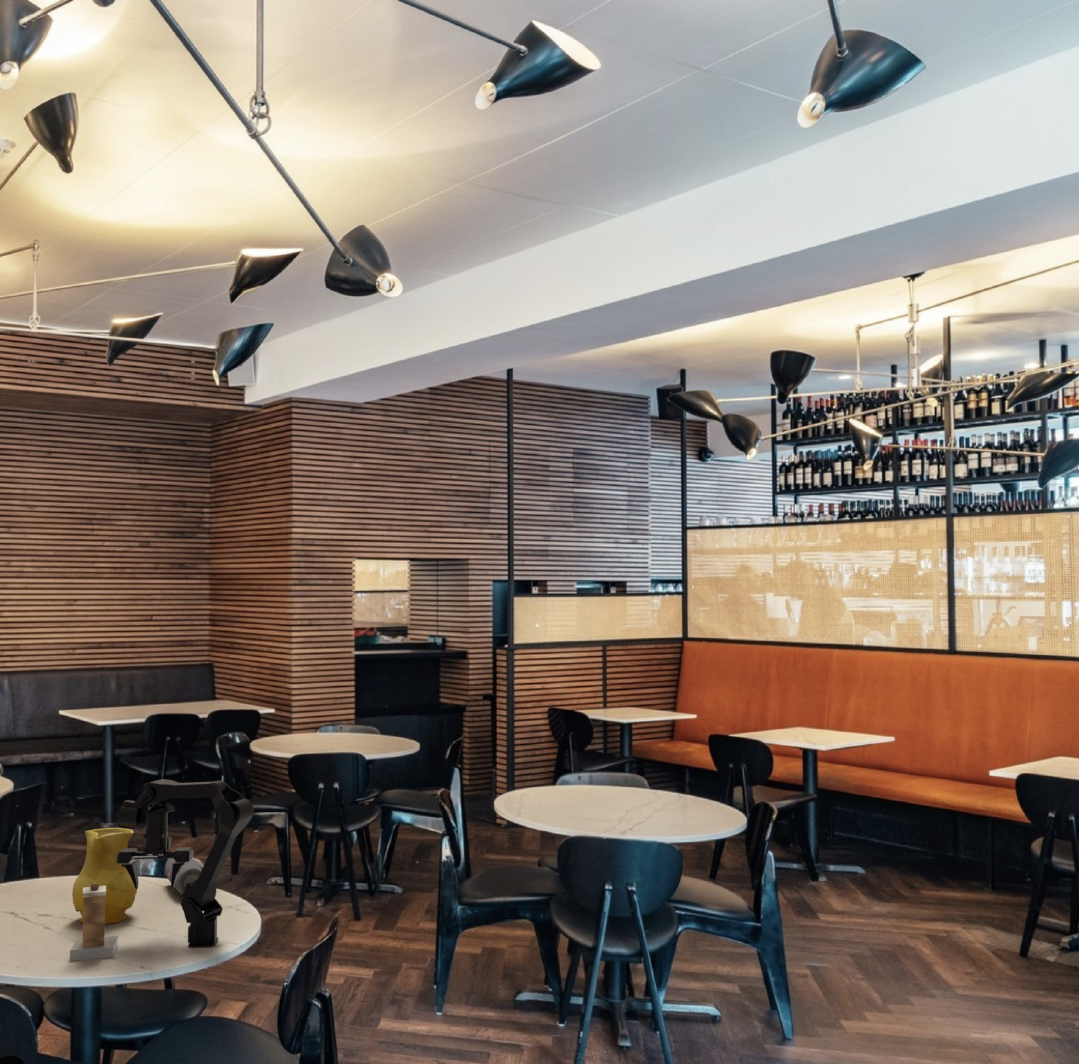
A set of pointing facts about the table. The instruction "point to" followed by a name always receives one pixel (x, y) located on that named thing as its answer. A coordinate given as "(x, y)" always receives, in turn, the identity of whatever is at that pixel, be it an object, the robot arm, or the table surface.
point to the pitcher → (106, 873)
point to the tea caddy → (94, 915)
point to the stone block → (94, 949)
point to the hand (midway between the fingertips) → (154, 888)
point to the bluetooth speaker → (183, 873)
